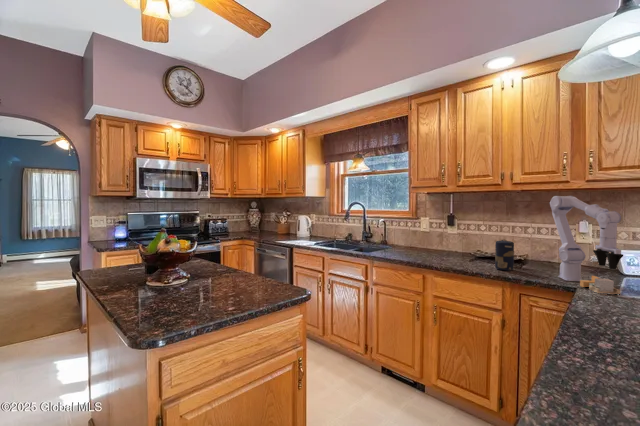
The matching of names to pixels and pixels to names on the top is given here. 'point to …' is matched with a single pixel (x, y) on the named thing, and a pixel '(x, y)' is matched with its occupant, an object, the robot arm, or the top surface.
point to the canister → (504, 255)
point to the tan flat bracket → (615, 291)
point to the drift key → (587, 282)
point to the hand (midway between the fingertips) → (607, 267)
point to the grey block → (604, 285)
